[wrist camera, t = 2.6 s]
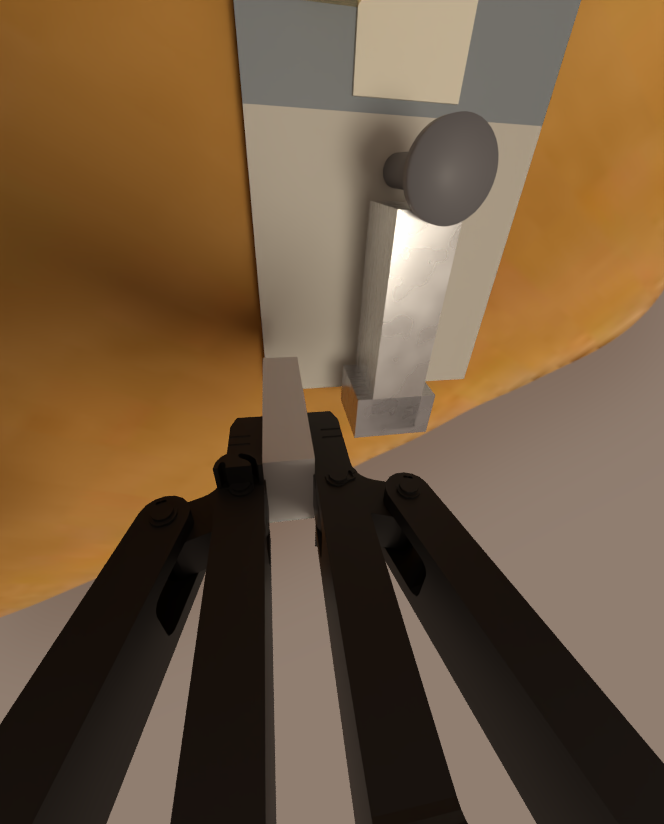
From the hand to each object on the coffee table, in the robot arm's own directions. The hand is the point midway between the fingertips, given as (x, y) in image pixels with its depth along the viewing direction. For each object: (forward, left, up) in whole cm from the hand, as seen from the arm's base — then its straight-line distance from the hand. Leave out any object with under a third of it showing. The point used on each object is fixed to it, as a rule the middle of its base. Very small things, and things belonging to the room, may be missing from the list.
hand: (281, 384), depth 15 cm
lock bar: (+6, +1, -5) cm, 8 cm away
